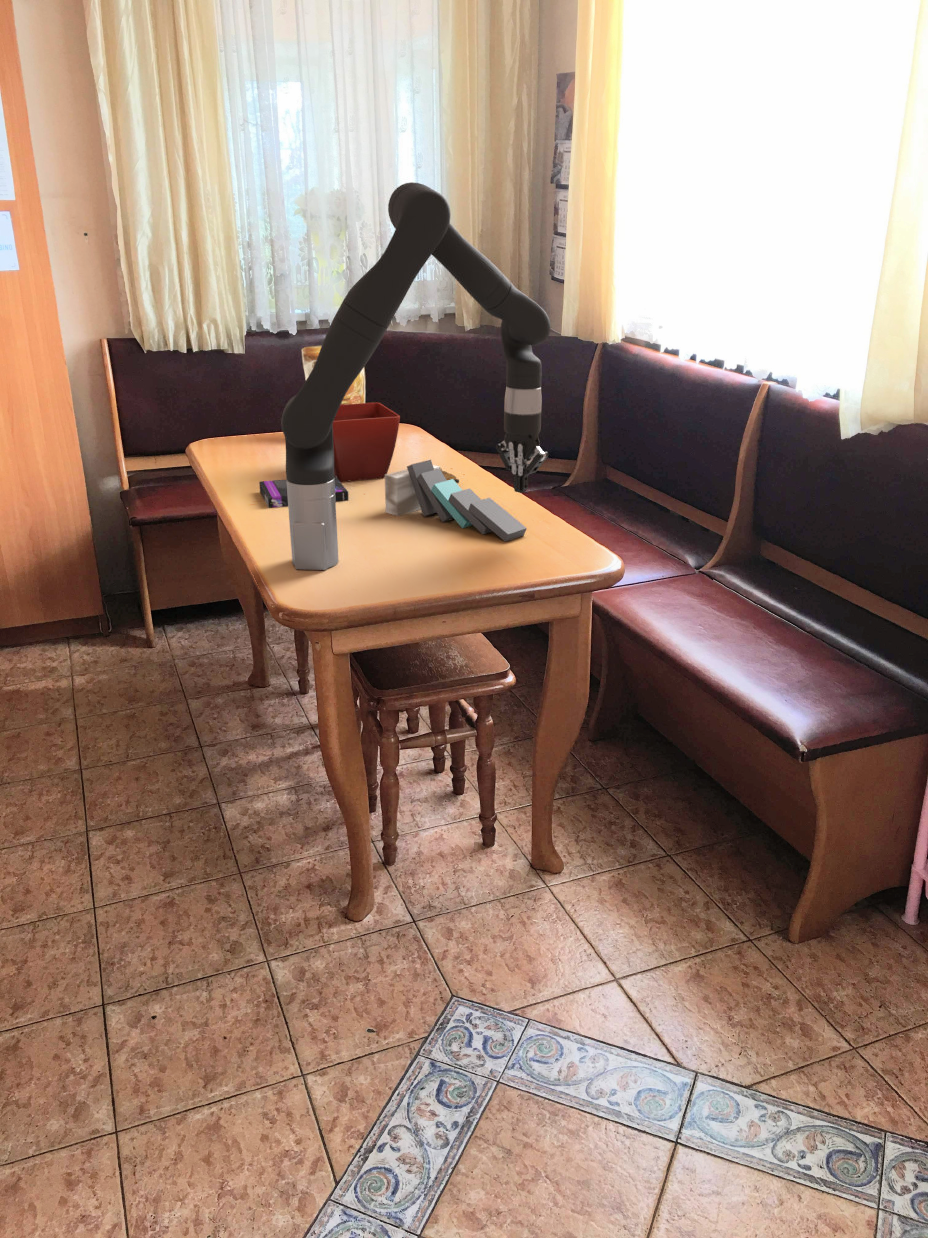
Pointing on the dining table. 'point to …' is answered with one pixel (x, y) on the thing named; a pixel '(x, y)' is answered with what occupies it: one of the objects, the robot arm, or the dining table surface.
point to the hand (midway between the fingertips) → (520, 491)
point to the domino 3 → (443, 494)
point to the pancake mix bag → (355, 390)
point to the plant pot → (363, 441)
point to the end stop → (400, 493)
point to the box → (278, 495)
